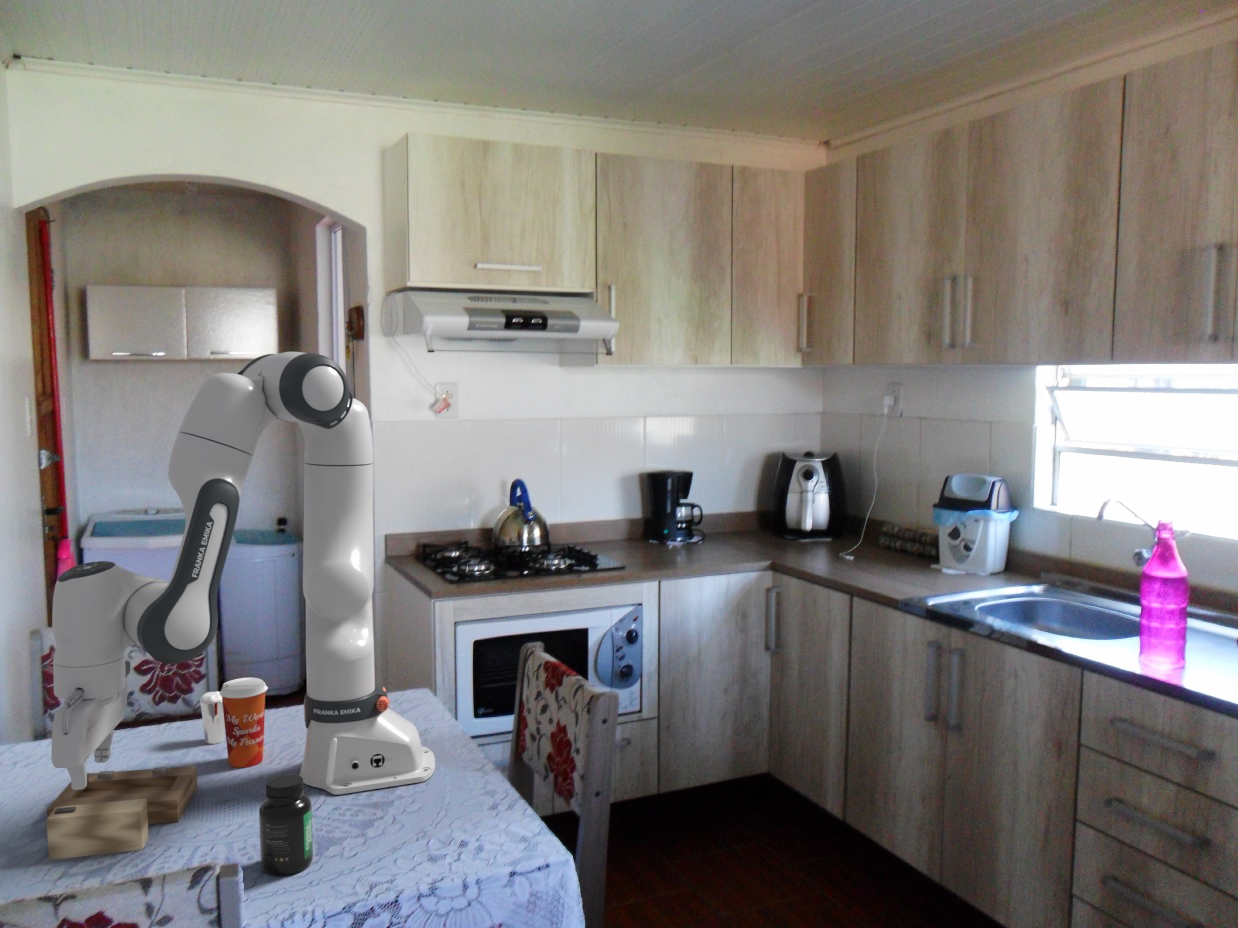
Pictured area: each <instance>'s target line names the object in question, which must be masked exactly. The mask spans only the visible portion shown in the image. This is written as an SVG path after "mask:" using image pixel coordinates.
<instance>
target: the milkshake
mask: <svg viewBox="0 0 1238 928" xmlns="http://www.w3.org/2000/svg"><path fill="white" fill-rule="evenodd" d="M199 704H200V710H201V717H202V725H203V733H204V734H203V735H204V742H205V743H206V744H208V745H216V744H220V743H223V742H224V741H225V735H226V732H225V722H224V712H223V702H222V696H221V695H220V691H208V692H205V693H204V694H202V695H201V697H200V699H199Z"/></svg>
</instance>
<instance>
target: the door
mask: <svg viewBox="0 0 1238 928" xmlns="http://www.w3.org/2000/svg"><path fill="white" fill-rule="evenodd" d="M46 828H47V829H46V832H47V848H48V860H58V859H59V860H60V859H68V858H76V857H77V858H78V857H87V856H88V857H89V856H96V855H97V856H98V855H105V854H106V855H107V854H116V853H123V852H124V853H125V852H126V853H127V852H136V851H143V849H144V847H145V845H146V843H147V841H148V839H149V824H148V814H147V799H136V800H125V801H115V802H104V803H93V804H83V805H72V806H61V807H55V809H54V810H53V811H52V813H51V814H50V815H49V817H48V818H47V817H46Z"/></svg>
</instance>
